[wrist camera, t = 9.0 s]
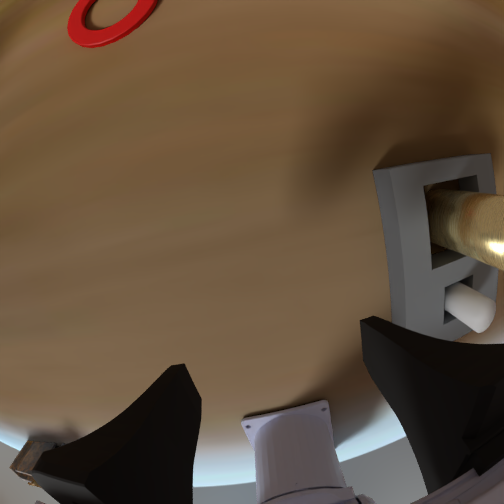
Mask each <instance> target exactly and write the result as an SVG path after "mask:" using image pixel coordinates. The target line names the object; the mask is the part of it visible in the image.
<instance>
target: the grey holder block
mask: <svg viewBox="0 0 504 504" xmlns="http://www.w3.org/2000/svg"><path fill="white" fill-rule="evenodd" d="M372 171H373V175H374V180H375V185H376V190H377V195H378V200H379V206H380V211H381V217H382V224H383V230H384V237H385V245H386V253H387V261H388V271H389V281H390V294H391V311H392V323H394V324H396V325H399V326H401V327H404V328H406V329H409V330H412V331H415V332H418V333H421V334H424V335H427V336H431V337H434V338H438V339H443V340H448V341H454V340H456V339H458V338H460V337H462V336H464V335H465V334H467V333H469V332H471V331H472V330H474V331H476V332H477V333H481V332H483V331H485V330H486V329H487V328H488V327H489V325H490V324H491V322H492V321H493V318H494V316H495V312H496V294H497V283H498V268H495V267H493V266H491V265H488V264H486V263H483V262H481V261H479V260H476V259H474V258H471V257H469V256H466V255H464V254H461V253H458V252H456V251H453V250H451V249H447V250H445V251H442V252H439V253H437V254H434V255H431V247H430V235H429V225H428V216H427V209H426V201H425V195H424V189H423V186H425V185H429V184H434V183H439V182H444V181H448V180H453V179H458V180H459V187H460V191H470V192H480V193H489V194H496V186H495V178H494V171H493V165H492V159H491V153H488V154H471V155H463V156H456V157H448V158H442V159H435V160H429V161H422V162H416V163H410V164H404V165H399V166H393V167H388V168H382V169H377V170H372Z"/></svg>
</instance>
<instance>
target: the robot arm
mask: <svg viewBox="0 0 504 504" xmlns="http://www.w3.org/2000/svg"><path fill="white" fill-rule="evenodd" d="M360 327H361V338H362V351H363V361H364V363H365V365H366V367H367V369H368V372H369V374H370V376H371V378H372V379H373V381H374V382H375V384H376V385H377V387H378V388H379V390H380V392H381V393H382V395H383V396H384V397H385V399H386V400H387V402H388V403H389V405H390V406H391V408H392V410H393V411H394V413H395V414H396V416H397V417H398V419H399V421H400V423H401V425H402V427H403V429H404V431H405V433H406V436H407V438H408V440H409V442H410V445H411V447H412V449H413V452H414V454H415V457H416V459H417V462H418V464H419V467H420V470H421V473H422V476H423V479H424V482H425V485H426V489H427V492H428V495H427V496H425V497H423V498H421V499H419V500H417V501H415V502H413V503H411V504H504V344H470V343H460V342H453V341H448V340H443V339H438V338H434V337H431V336H427V335H424V334H421V333H418V332H415V331H412V330H409V329H406V328H404V327H401V326H399V325H396V324H394V323H391V322H389V321H386V320H384V319H381V318H379V317H376V316H371V317H368V318H365V319H362V320H360ZM201 404H202V399H201V397H200V395H199V393H198V391H197V389H196V387H195V385H194V383H193V381H192V379H191V376H190V374H189V372H188V370H187V368H186V366H185V364H178V365H171V366H170V367H169V368H168V369H167V370H166V371H165V372H164V373H163V374H162V375H161V376H160V377H159V378H158V379H157V380H156V381H155V382H154V383H153V384H152V385H151V386H150V387H149V388H148V389H147V390H146V391H145V392H144V393H143V394H142V395H141V396H140V397H139V398H138V399H137V400H135V401H134V402H133V403H132V404H131V405H130V406H129V407H128V408H127V409H126V410H124V411H123V412H122V413H121V414H119V415H118V416H117V417H115V418H114V419H113V420H111V421H110V422H108V423H107V424H105V425H104V426H102V427H100V428H99V429H97V430H95V431H94V432H92V433H90V434H88V435H86V436H84V437H82V438H80V439H78V440H76V441H74V442H71V443H69V444H66V445H63V446H60V447H57V448H54V449H51V450H47V451H44V452H43V453H42V454H41V456H40V457H39V459H38V461H37V462H36V464H35V466H34V467H33V469H32V471H31V474H32V477H33V479H34V480H35V481H36V482H37V484H38V485H39V486H40V487H41V488H42V489H44V490H45V491H46V492H47V493H48V494H49V495H51V496H52V497H53V498H54V499H55V500H56V501H58V502H59V503H60V504H193V493H192V492H193V491H192V490H193V489H192V487H193V465H194V458H195V452H196V446H197V441H198V435H199V429H200V423H201ZM322 408H324V409H322ZM241 424H242V426H243V429H244V431H245V433H246V435H247V437H248V439H249V441H250V443H251V445H252V447H253V449H254V451H255V468H256V489H257V504H376V503H375V501H374V500H373V499H372V498H370V497H367V496H366V495H364V494H359V495H356V496H355V494H354V491H353V488H352V487H347V486H346V483H345V479H344V476H343V473H342V470H341V467H340V463H339V460H338V457H337V454H336V451H335V447H334V439H333V431H332V424H331V416H330V409H329V404H328V401H327V400H321V401H317V402H314V403H310V404H306V405H302V406H298V407H294V408H290V409H286V410H282V411H277V412H273V413H268V414H263V415H258V416H252V417H247V418H243V419H242V420H241ZM247 425H249V426H247ZM35 504H45V503H43V502H40V501H36V503H35Z"/></svg>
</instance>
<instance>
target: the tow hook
mask: <svg viewBox="0 0 504 504" xmlns="http://www.w3.org/2000/svg"><path fill="white" fill-rule="evenodd" d="M95 1H96V0H79V1H78V3H77V4H76V6H75V7H74V9H73V10H72V13H71V15H70V17H69V21H68V27H67V28H68V34H69V36H70V38H71V39H72V41H74V42H75V43H77V44H79V45H80V46H82V47H88V48H94V47H101V46H105V45H108V44H110V43H113V42H116V41H118V40H119V39H121V38H123V37H125V36H127V35H128V34H130V33H131V32H132V31H134V30H135V29H136V28H138V27H139V26H140V25H141V24H142V23H143V22H144V21H145V20H146V19H147V18H148V17H149V15H150V14H151V12H152V11H153V10H154V8H155V7H156V4H157V1H158V0H138V2H137V4H136V6H135V7H134V8H133V10H132V11H131V12H130V13H129V14H128V15H127V16H126V17H124V18H123V19H122V20H120V21H119V22H118V23H116V24H114V25H112V26H110V27H107V28H105V29H101V30H89V29H87V28H86V26H85V16H86V14H87V11H88V9H89V8H90V7H91V5H92V4H93V3H94V2H95Z"/></svg>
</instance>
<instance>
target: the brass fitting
mask: <svg viewBox="0 0 504 504" xmlns="http://www.w3.org/2000/svg"><path fill="white" fill-rule="evenodd" d="M425 201H426V209H427V216H428V225H429V235H430V242H432V243H434V244H437V245H440V246H443V247H445V248H448V249H451V250H453V251H456V252H458V253H461V254H464V255H466V256H469V257H471V258H474V259H476V260H479V261H481V262H483V263H486V264H488V265H491V266H493V267H495V268H498V269H500V270H502V271H504V195H497V194H489V193H480V192H470V191H459V190H447V189H433V190H431V191H429V192H428V193H427V194H426V195H425Z"/></svg>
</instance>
